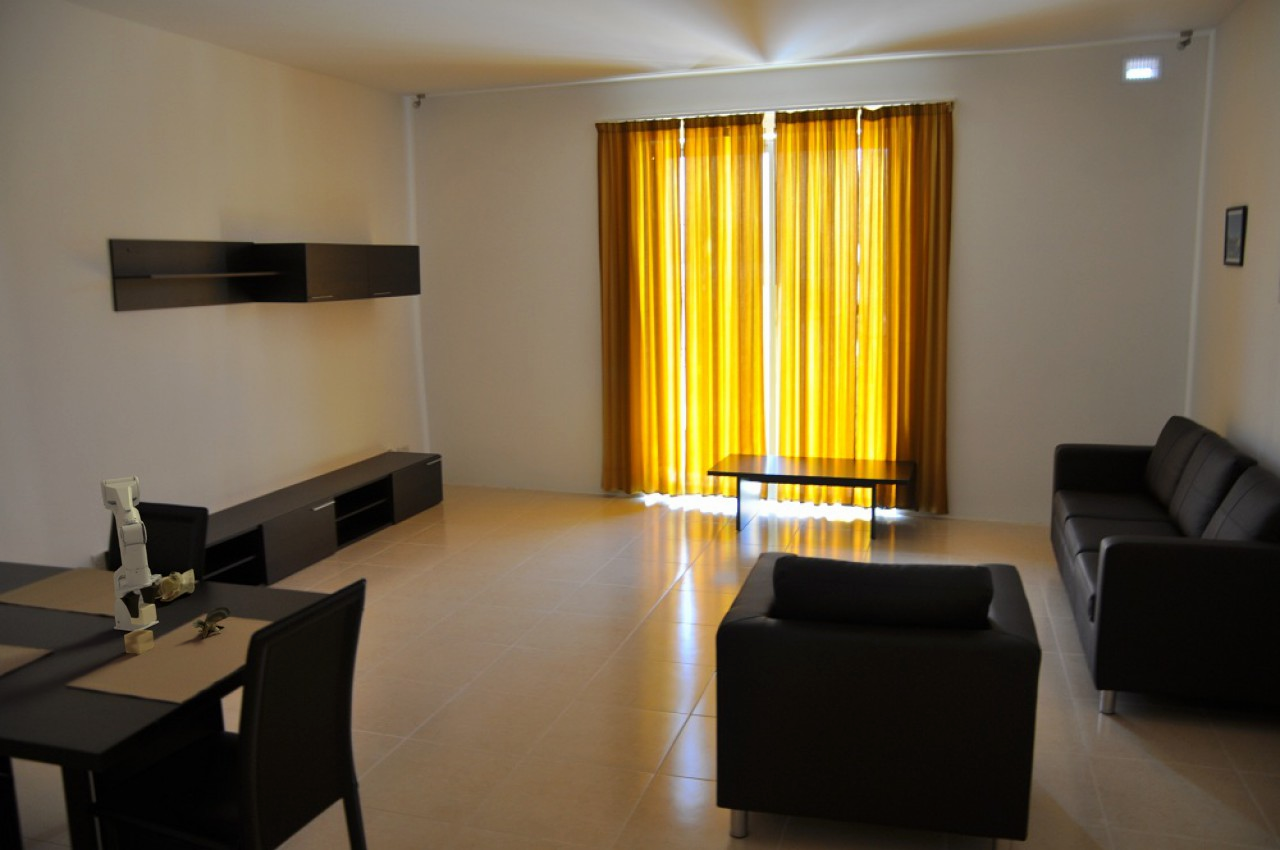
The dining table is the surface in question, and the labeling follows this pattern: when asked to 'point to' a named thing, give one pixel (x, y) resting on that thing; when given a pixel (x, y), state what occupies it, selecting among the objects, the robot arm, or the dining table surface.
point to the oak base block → (139, 641)
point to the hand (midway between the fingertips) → (142, 614)
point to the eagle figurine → (212, 620)
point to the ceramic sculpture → (176, 585)
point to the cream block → (145, 614)
